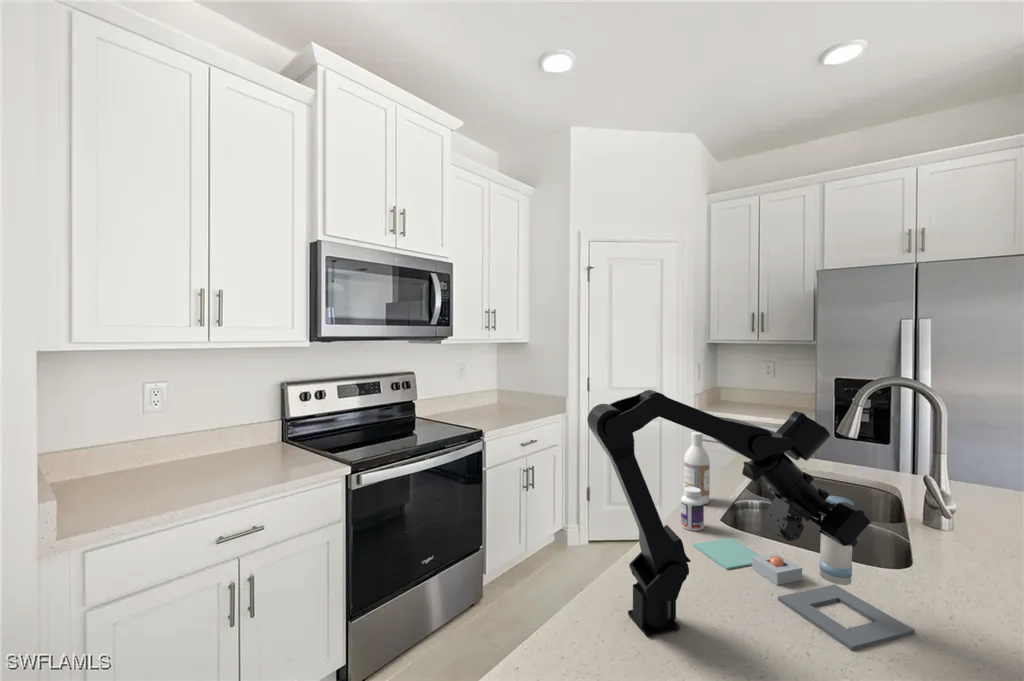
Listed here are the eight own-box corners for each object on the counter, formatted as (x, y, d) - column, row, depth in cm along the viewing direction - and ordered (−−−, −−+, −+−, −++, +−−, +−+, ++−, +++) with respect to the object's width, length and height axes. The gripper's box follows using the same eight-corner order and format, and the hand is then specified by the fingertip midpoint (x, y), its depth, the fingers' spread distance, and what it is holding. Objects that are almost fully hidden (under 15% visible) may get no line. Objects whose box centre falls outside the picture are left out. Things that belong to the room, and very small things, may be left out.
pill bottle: (705, 525, 118) (705, 488, 118) (701, 533, 113) (701, 494, 113) (683, 520, 121) (683, 484, 121) (678, 528, 116) (678, 490, 116)
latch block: (777, 585, 91) (777, 572, 91) (752, 569, 97) (752, 557, 97) (802, 580, 93) (802, 567, 92) (776, 564, 99) (776, 553, 98)
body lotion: (703, 507, 129) (703, 437, 129) (679, 500, 134) (680, 433, 134) (713, 500, 134) (713, 433, 134) (690, 494, 139) (690, 429, 139)
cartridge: (838, 587, 79) (840, 506, 78) (813, 573, 83) (815, 497, 83) (858, 582, 80) (860, 503, 80) (832, 568, 85) (834, 494, 84)
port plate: (851, 650, 73) (851, 646, 73) (777, 599, 86) (777, 596, 86) (914, 633, 76) (915, 629, 76) (834, 587, 90) (834, 584, 90)
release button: (776, 574, 93) (776, 562, 93) (767, 568, 95) (767, 556, 95) (786, 572, 94) (786, 560, 94) (776, 566, 96) (776, 555, 96)
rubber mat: (726, 569, 97) (726, 567, 97) (692, 545, 107) (692, 543, 107) (768, 561, 100) (768, 560, 100) (731, 539, 110) (731, 537, 110)
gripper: (725, 492, 90) (778, 546, 91) (789, 535, 71) (855, 602, 72) (764, 451, 90) (816, 505, 91) (838, 483, 72) (903, 551, 73)
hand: (843, 538), depth 82 cm, fingers closed on cartridge, 5 cm apart
